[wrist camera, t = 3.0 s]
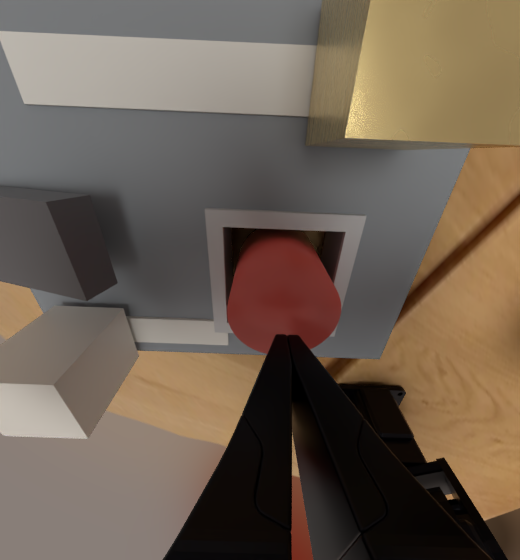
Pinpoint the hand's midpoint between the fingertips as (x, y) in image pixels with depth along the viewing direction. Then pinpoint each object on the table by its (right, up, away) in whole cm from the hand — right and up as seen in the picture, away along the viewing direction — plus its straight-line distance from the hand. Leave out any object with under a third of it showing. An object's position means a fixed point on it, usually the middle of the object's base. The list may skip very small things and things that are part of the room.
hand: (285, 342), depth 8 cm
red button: (0, +4, +7) cm, 8 cm away
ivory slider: (-11, -1, +6) cm, 12 cm away
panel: (-3, +6, +6) cm, 9 cm away
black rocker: (-11, +4, +1) cm, 12 cm away
